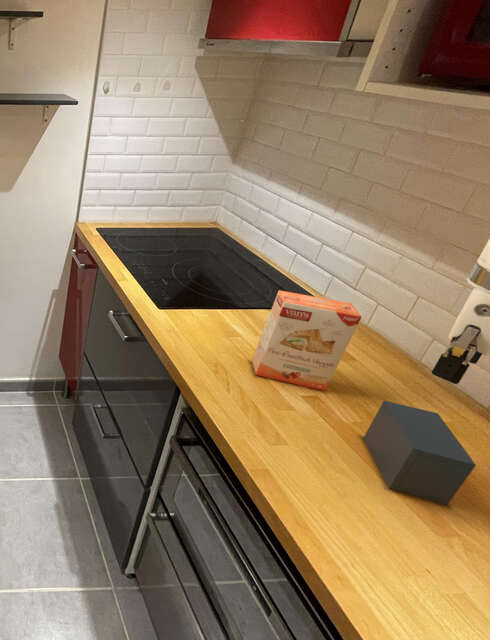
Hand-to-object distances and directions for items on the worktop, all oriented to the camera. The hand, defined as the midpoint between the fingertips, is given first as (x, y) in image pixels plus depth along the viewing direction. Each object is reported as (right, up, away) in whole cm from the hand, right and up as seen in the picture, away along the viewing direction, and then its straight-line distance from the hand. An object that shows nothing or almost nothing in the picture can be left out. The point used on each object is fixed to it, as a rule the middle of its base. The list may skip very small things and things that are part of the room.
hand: (453, 368), depth 76 cm
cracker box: (-6, -11, +30) cm, 32 cm away
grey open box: (-2, -21, +7) cm, 22 cm away
